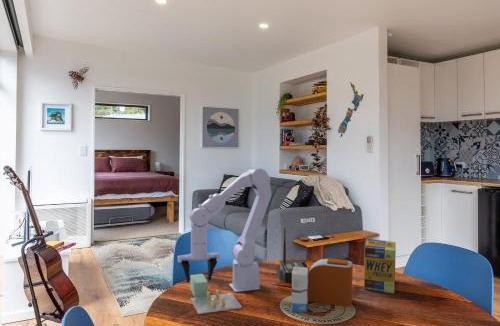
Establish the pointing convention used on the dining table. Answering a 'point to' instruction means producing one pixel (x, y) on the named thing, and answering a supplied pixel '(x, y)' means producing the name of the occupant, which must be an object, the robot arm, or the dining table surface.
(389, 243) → the protein box
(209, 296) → the standoff posts
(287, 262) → the wireless controller
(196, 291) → the mint green cuboid
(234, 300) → the plate
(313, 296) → the brown toaster
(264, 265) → the dining table surface
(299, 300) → the ink box
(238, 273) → the robot arm
